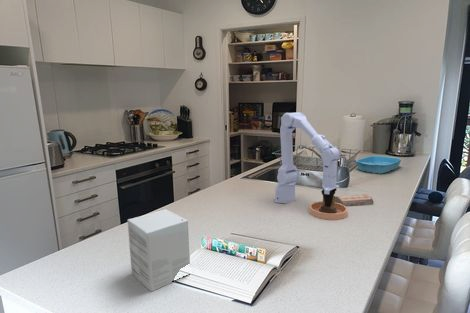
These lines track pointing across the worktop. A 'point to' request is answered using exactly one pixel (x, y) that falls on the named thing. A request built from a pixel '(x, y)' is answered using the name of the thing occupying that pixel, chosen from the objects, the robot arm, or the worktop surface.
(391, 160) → the casserole dish
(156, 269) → the supplement box
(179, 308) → the worktop surface
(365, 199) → the packaged product
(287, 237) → the worktop surface
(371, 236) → the worktop surface
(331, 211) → the hinged hatch frame
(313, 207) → the orange round shallow bowl
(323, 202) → the wood hatch door
